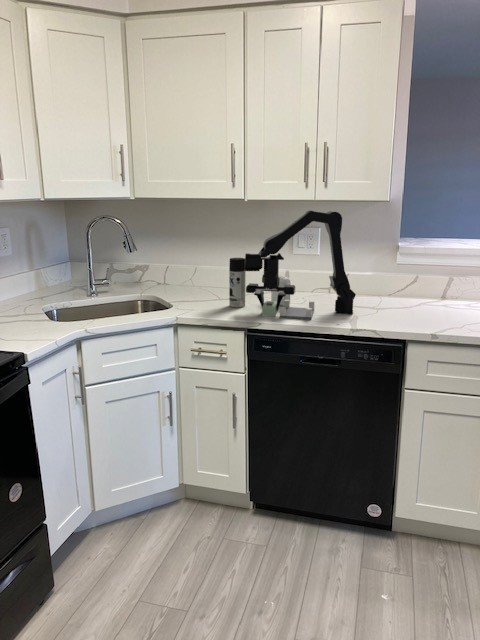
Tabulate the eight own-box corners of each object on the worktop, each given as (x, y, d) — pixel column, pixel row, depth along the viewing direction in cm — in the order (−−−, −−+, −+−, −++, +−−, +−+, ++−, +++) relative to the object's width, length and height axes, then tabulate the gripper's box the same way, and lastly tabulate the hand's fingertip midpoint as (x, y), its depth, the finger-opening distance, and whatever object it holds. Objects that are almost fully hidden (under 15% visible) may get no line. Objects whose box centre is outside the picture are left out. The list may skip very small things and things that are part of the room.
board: (278, 311, 207) (278, 299, 206) (275, 316, 199) (275, 304, 197) (265, 310, 208) (266, 299, 207) (262, 315, 200) (262, 303, 198)
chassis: (314, 310, 208) (314, 301, 207) (311, 319, 194) (311, 309, 193) (284, 309, 210) (284, 299, 209) (279, 318, 196) (279, 307, 195)
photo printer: (269, 302, 223) (270, 274, 220) (277, 301, 225) (278, 273, 222) (282, 306, 215) (283, 277, 212) (291, 305, 217) (292, 276, 214)
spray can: (226, 305, 217) (226, 257, 212) (240, 303, 220) (241, 256, 215) (233, 308, 212) (233, 259, 207) (248, 306, 215) (248, 258, 210)
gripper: (297, 268, 205) (296, 307, 209) (251, 267, 209) (251, 304, 213) (294, 273, 194) (293, 313, 198) (245, 271, 198) (245, 311, 202)
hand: (270, 310), depth 203 cm, fingers closed on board, 5 cm apart
